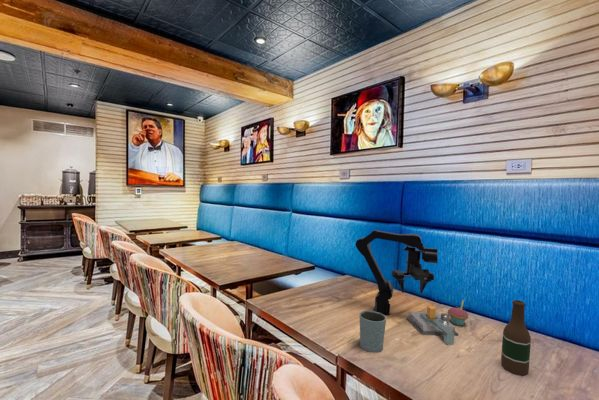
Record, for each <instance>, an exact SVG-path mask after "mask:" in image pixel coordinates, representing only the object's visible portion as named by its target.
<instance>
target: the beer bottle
mask: <svg viewBox="0 0 599 400" xmlns="http://www.w3.org/2000/svg"><path fill="white" fill-rule="evenodd" d="M511 304H512V308H511V313H510V314H511V315H510V321H509V322H508V323H507V324H506V325H505V327H504V328H503V331H502V340H501V342H502V343H501V357H500V361H501V362H500V365H501V366H502V367H503V368H504V370H506V371H508V372H509V373H511V374H513V375H518V376H522V377H524V376H527V374H529V371H530V356H531V342H532V339H531V338H532V337H531V334H530V332H529V329H528V328H527V327H526V323H525V322H526V321H525V319H526V318H525V312H526V311H525V307H526V303H525V302H524V301H522V300H520V299H514V300H512V302H511Z"/></svg>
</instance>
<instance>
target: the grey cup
mask: <svg viewBox="0 0 599 400" xmlns="http://www.w3.org/2000/svg"><path fill="white" fill-rule="evenodd" d="M358 315H359V341H360V342H359V346H360V347H361V349H363V350H364V351H367V352H369V353H376V354H377V353H381V352H382V351H383V349H384V342H385V334H386V333H385V331H386V324H387V315H383V314H381V313H379V312H375V311H374V310H363V311H360V312H359V314H358Z"/></svg>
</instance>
